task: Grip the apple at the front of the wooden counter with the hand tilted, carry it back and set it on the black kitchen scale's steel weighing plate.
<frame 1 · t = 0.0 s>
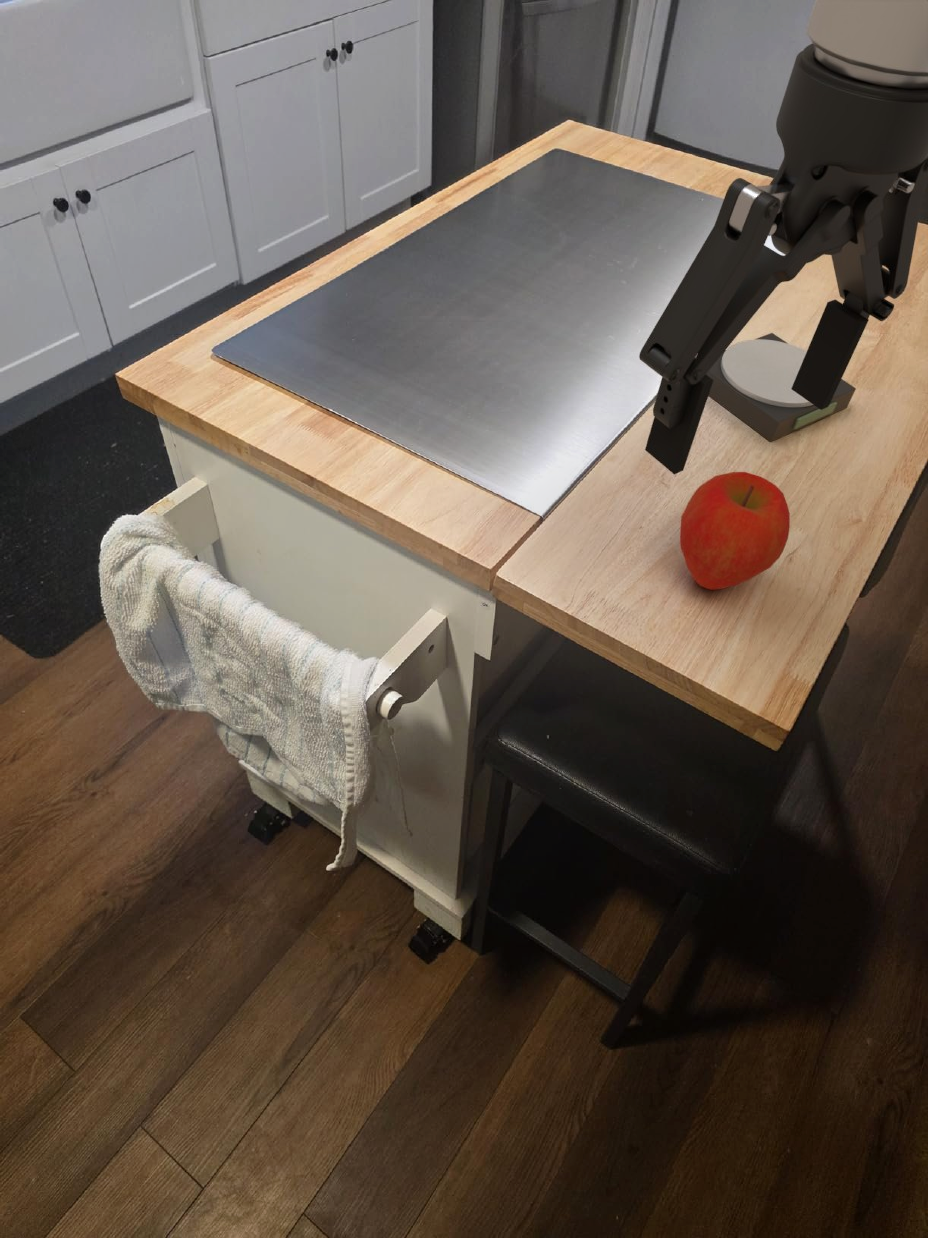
hand: (740, 428, 57), 20 cm above the kitchen island, tool pointing down, fingers open, 13 cm apart
kitchen scale: (767, 394, 94), on the kitchen island
apple: (709, 584, 75), on the kitchen island
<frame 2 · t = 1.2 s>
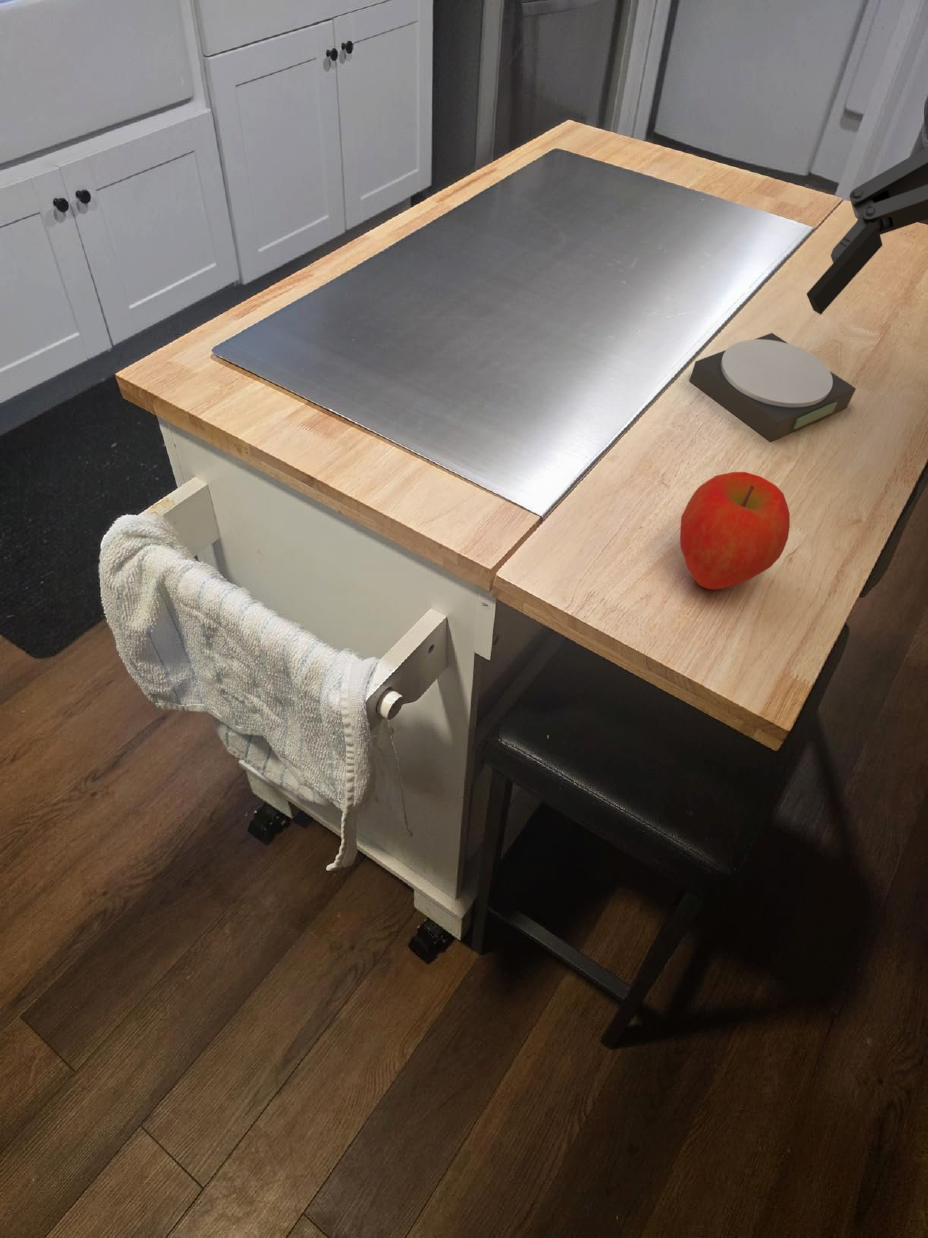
hand: (884, 348, 64), 20 cm above the kitchen island, tool tilted 45°, fingers open, 13 cm apart
nothing on the kitchen island moved.
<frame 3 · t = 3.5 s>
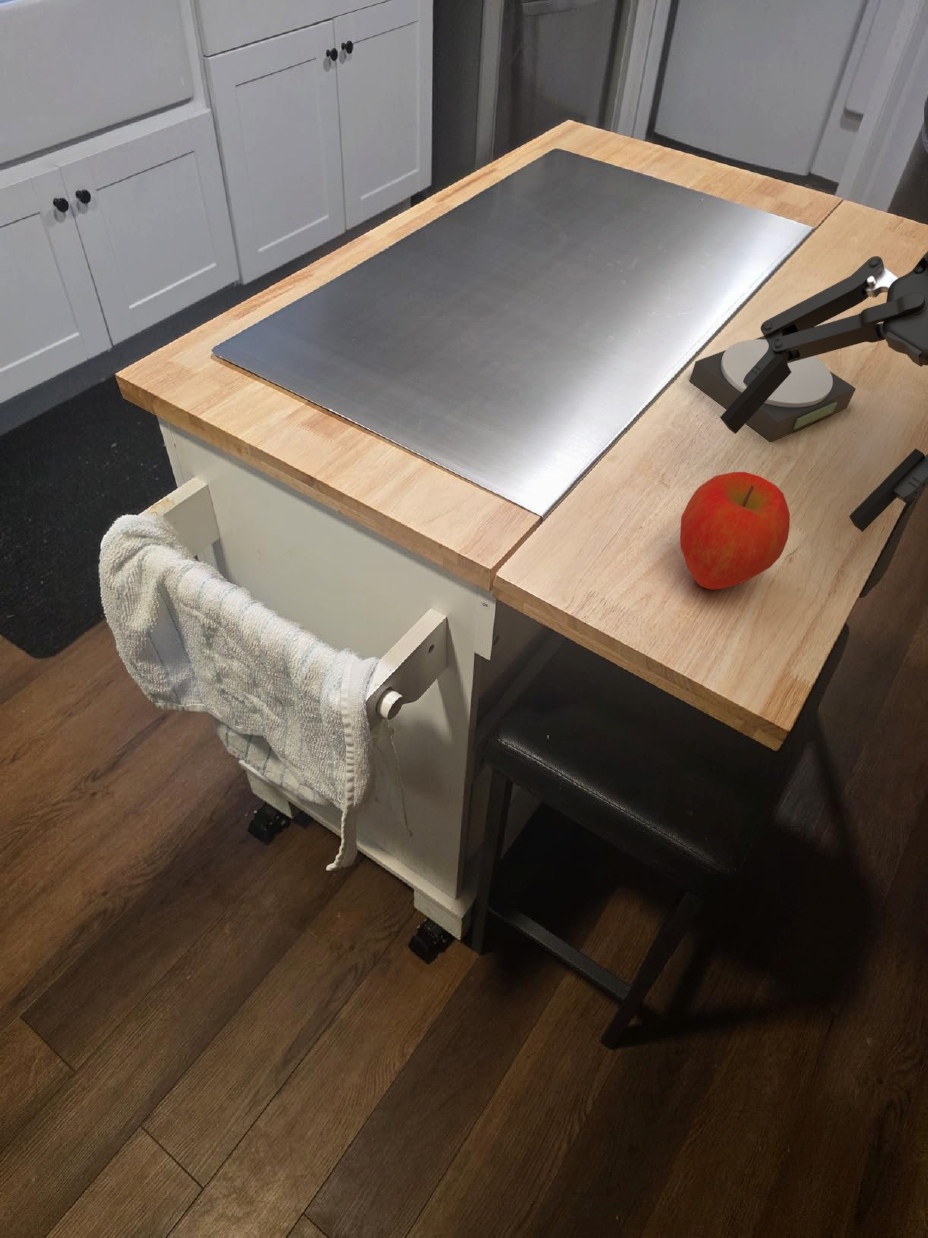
hand: (788, 473, 69), 10 cm above the kitchen island, tool tilted 45°, fingers open, 13 cm apart
nothing on the kitchen island moved.
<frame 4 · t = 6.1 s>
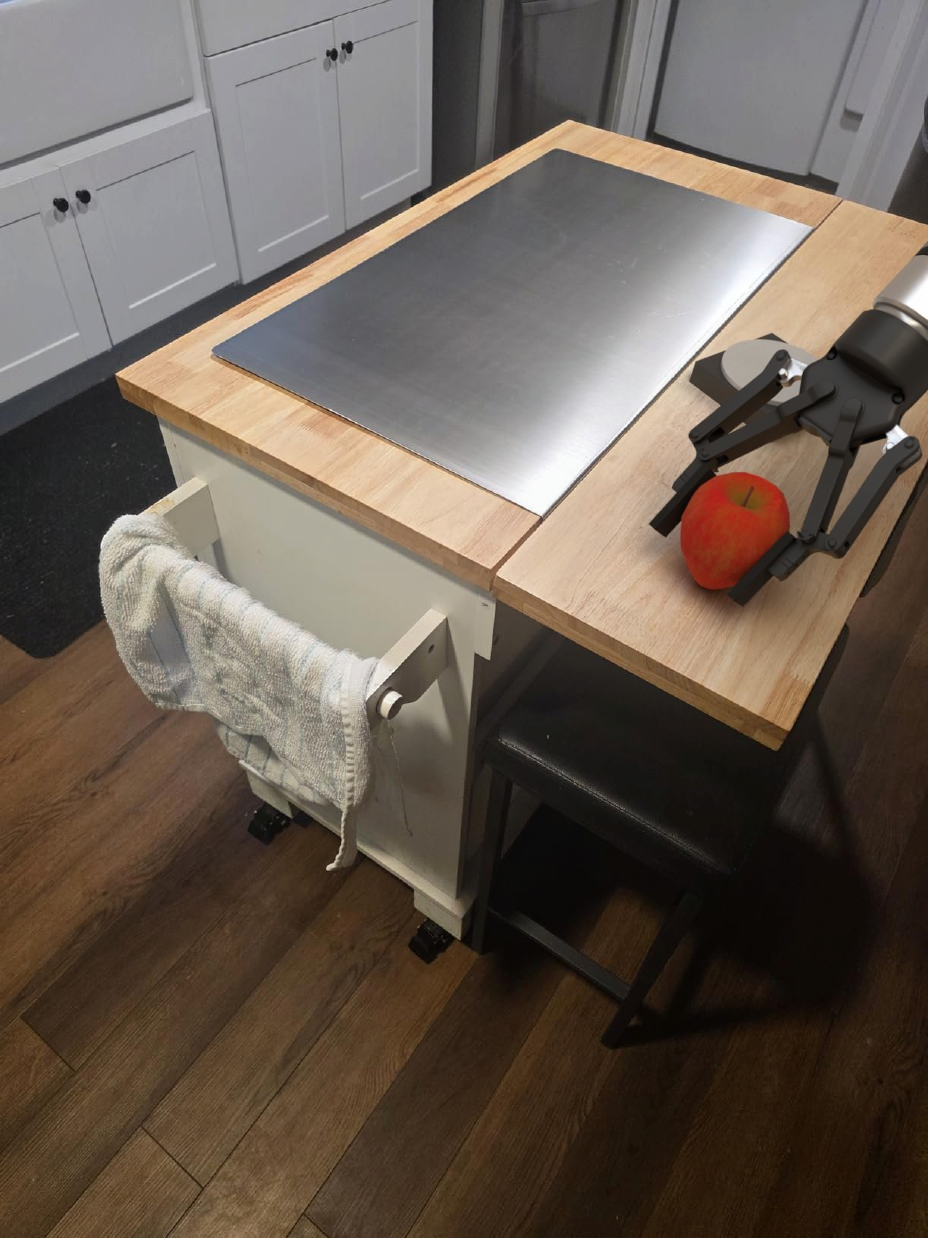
hand: (694, 564, 71), 4 cm above the kitchen island, tool tilted 45°, fingers closed on apple, 8 cm apart
apple: (709, 584, 75), on the kitchen island, touching gripper
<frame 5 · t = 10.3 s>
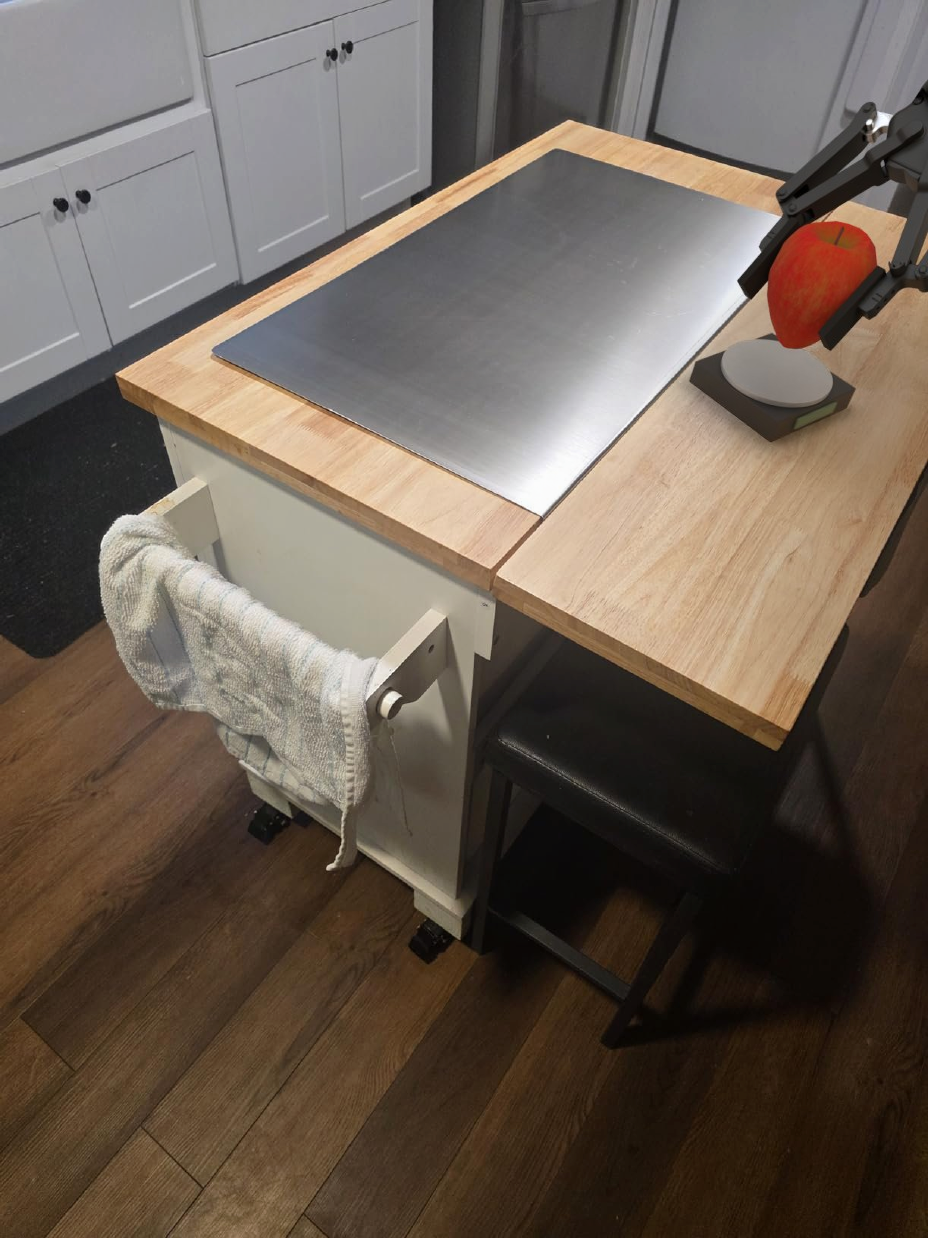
hand: (783, 315, 74), 16 cm above the kitchen island, tool tilted 45°, fingers closed on apple, 8 cm apart
apple: (792, 347, 78), point 12 cm above the kitchen island, touching gripper
when the fingers open (7 cm above the kitchen island, at t = 14.5 s): apple stays where it is, resting on kitchen scale.
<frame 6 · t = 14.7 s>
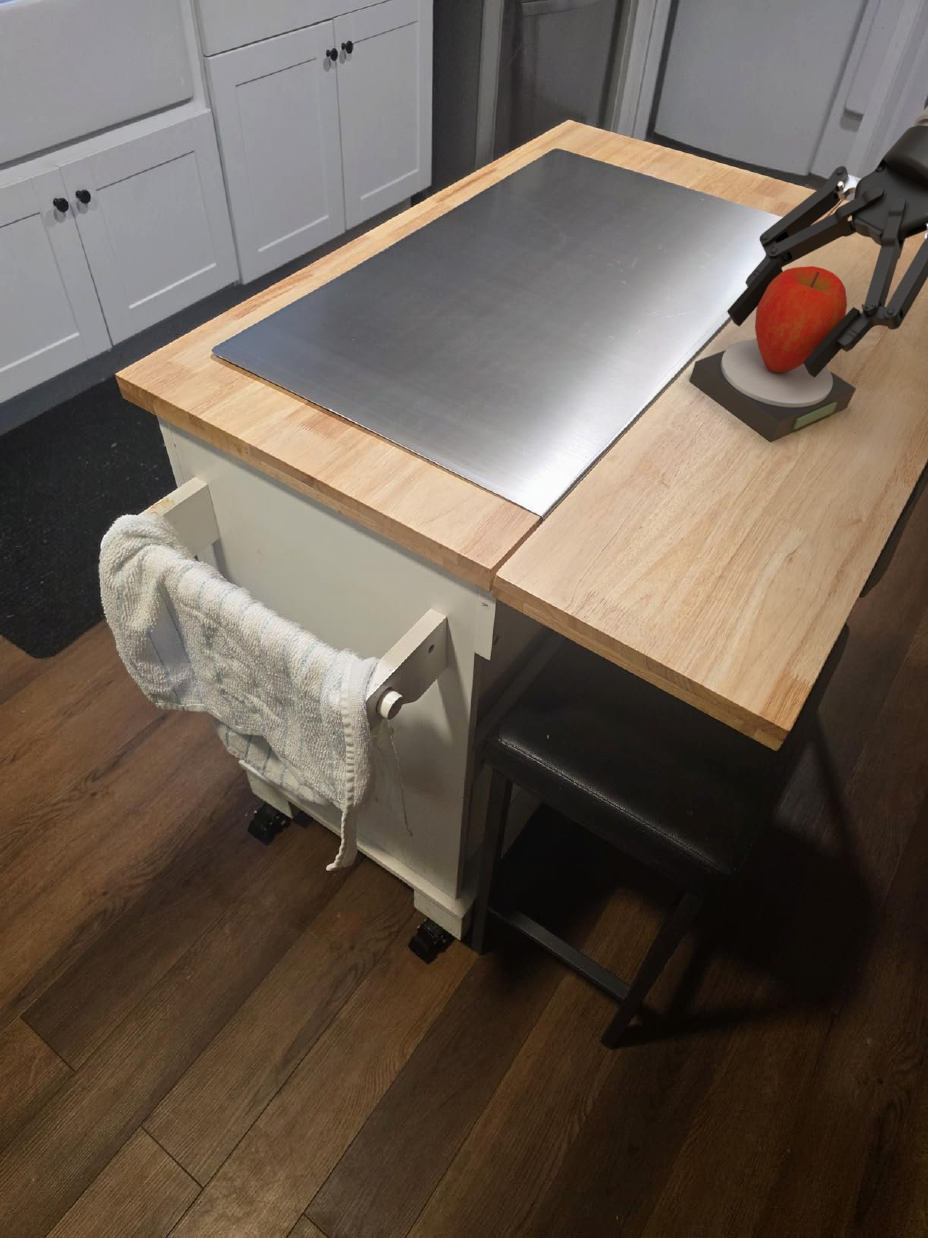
hand: (769, 343, 87), 7 cm above the kitchen island, tool tilted 45°, fingers open, 10 cm apart
apple: (777, 371, 92), point 3 cm above the kitchen island, touching kitchen scale
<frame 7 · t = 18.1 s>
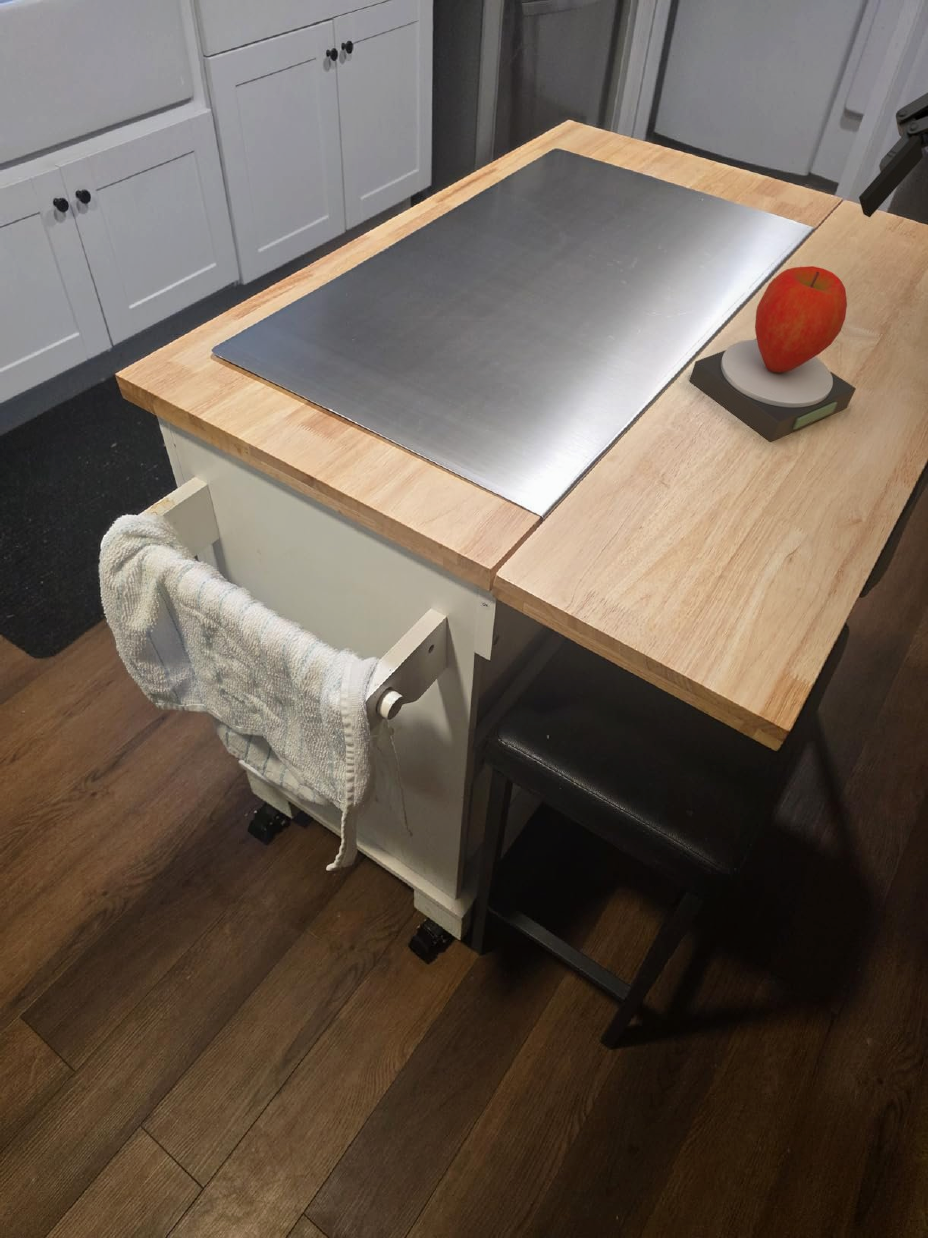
hand: (925, 239, 77), 20 cm above the kitchen island, tool tilted 45°, fingers open, 13 cm apart
nothing on the kitchen island moved.
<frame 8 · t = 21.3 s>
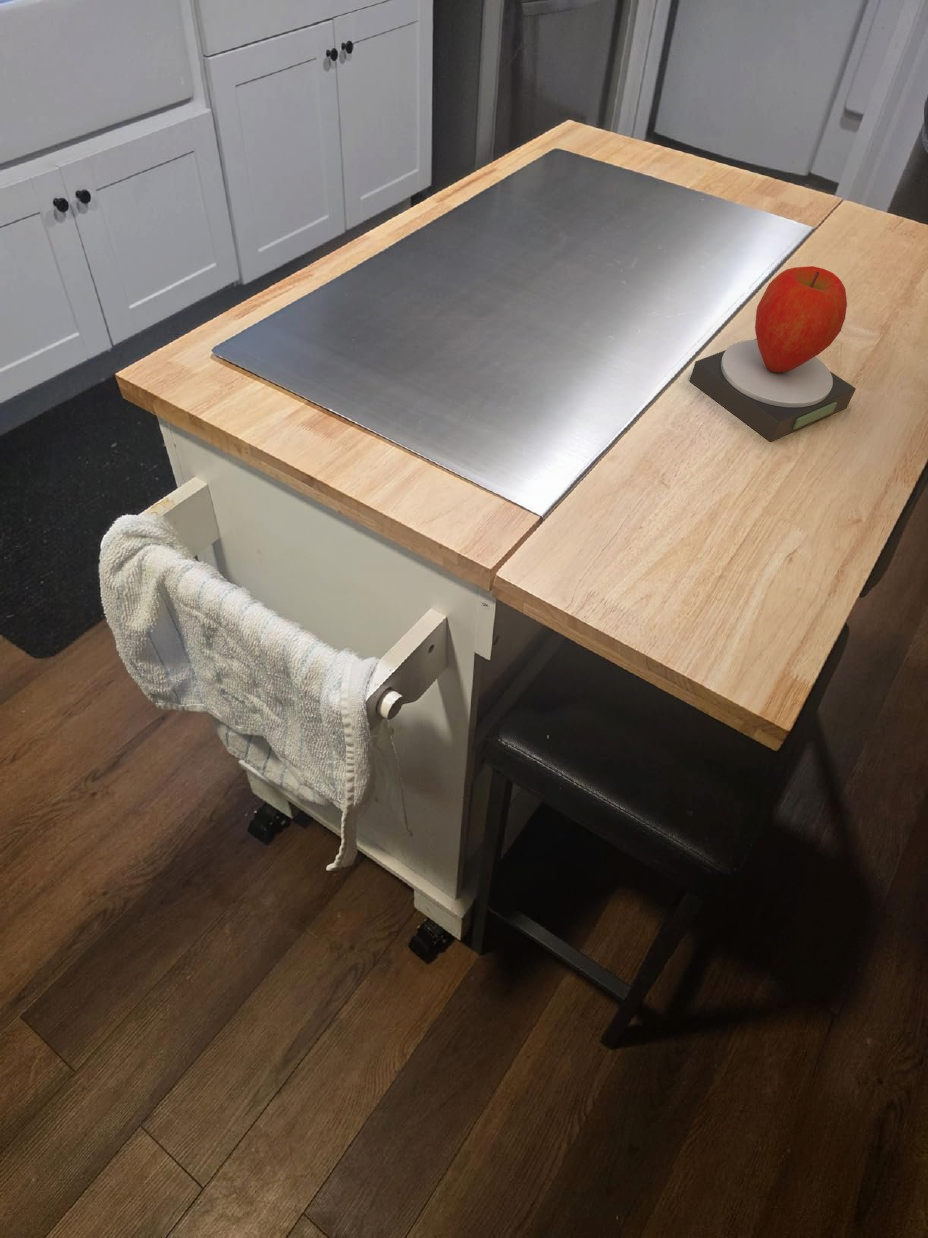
nothing on the kitchen island moved.
at the end: apple inside the target area on the kitchen scale (0.0 cm from its centre), point 2.9 cm above the kitchen scale's base; the gripper is holding nothing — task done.
